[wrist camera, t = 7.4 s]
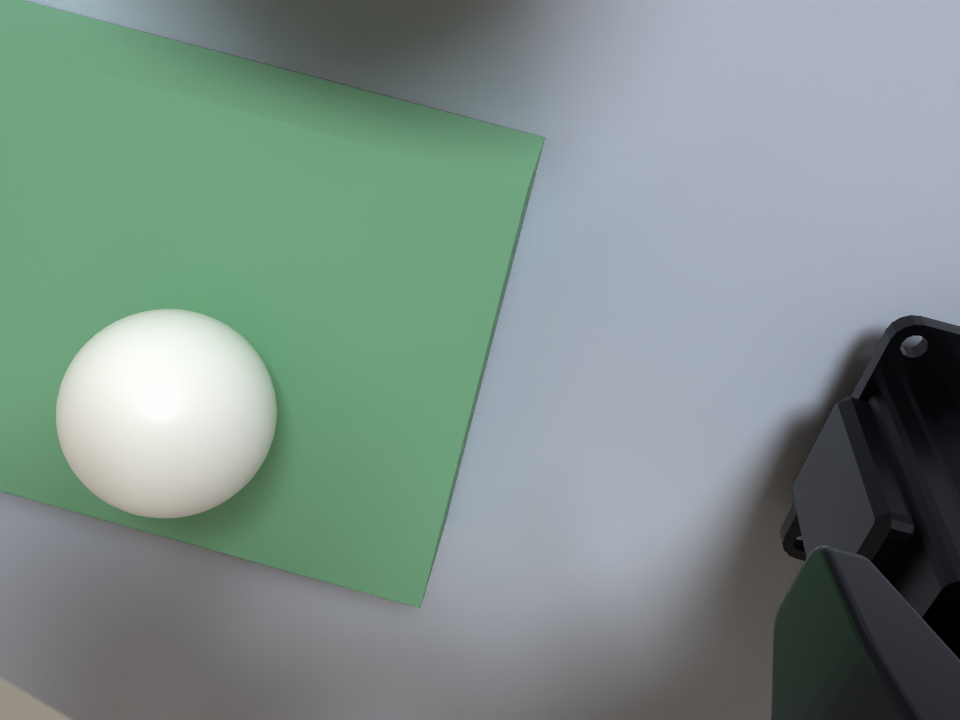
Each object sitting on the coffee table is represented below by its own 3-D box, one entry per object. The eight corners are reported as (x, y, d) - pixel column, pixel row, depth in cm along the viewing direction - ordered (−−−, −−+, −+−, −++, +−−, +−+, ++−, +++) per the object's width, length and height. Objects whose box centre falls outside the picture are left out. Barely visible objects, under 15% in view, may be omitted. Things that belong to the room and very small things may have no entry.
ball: (61, 401, 14) (44, 271, 17) (67, 579, 16) (51, 437, 19) (313, 382, 16) (259, 268, 19) (288, 545, 18) (243, 420, 21)
